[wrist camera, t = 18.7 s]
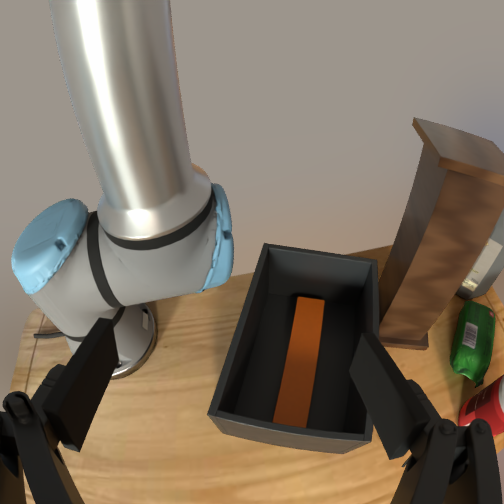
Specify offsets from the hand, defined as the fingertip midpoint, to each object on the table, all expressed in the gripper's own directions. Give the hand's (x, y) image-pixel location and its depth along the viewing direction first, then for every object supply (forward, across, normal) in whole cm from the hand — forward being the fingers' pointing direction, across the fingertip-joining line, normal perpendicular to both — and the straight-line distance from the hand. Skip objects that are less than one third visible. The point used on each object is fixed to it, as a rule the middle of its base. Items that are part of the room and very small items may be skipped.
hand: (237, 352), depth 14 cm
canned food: (+4, +36, -20) cm, 42 cm away
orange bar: (+18, +10, -16) cm, 26 cm away
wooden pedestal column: (+23, +26, -12) cm, 37 cm away
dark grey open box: (+19, +10, -17) cm, 27 cm away
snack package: (+16, +38, -14) cm, 44 cm away
